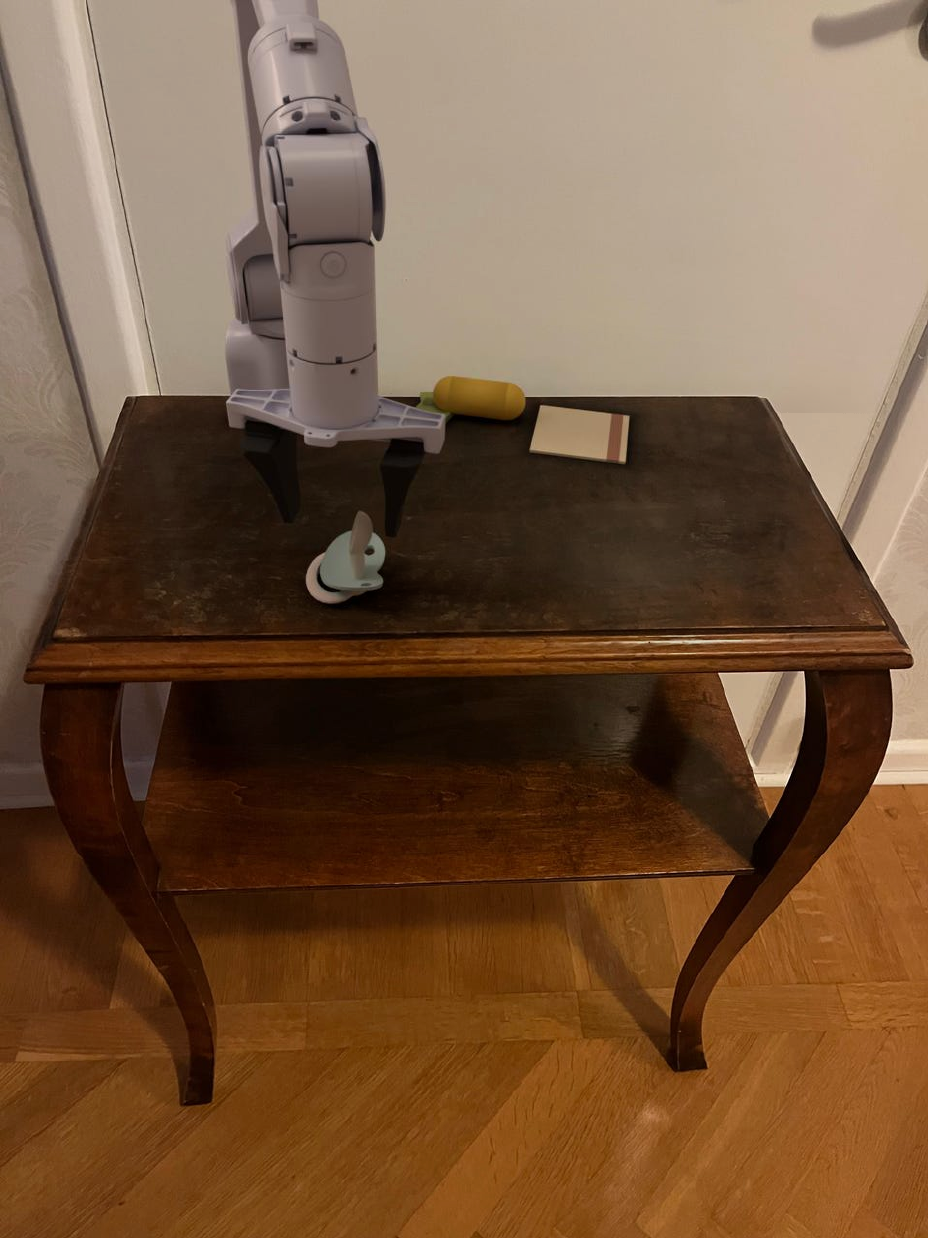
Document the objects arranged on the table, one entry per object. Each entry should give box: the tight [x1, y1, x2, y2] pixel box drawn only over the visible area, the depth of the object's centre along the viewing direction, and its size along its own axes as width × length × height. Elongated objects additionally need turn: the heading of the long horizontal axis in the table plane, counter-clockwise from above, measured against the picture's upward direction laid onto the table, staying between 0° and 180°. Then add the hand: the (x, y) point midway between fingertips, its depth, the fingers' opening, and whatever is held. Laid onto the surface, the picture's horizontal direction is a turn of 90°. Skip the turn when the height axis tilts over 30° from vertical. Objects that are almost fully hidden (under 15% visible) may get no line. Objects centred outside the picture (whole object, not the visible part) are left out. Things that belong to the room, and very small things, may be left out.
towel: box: [529, 404, 630, 465], centre depth 88 cm, size 9×9×1 cm
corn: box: [414, 375, 526, 425], centre depth 89 cm, size 11×6×4 cm, turn 80°
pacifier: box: [305, 510, 386, 605], centre depth 68 cm, size 7×6×6 cm
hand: (342, 522), depth 66 cm, fingers open, 7 cm apart
